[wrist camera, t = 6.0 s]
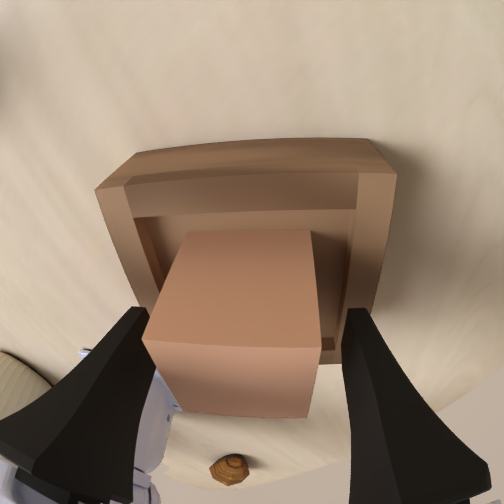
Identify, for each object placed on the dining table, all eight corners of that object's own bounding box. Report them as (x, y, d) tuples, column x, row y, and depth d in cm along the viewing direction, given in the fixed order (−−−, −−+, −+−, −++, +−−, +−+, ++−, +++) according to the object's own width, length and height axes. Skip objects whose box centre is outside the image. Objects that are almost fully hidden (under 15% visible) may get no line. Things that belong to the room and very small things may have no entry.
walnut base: (347, 309, 17) (356, 362, 14) (182, 309, 19) (166, 359, 16) (367, 138, 11) (397, 173, 8) (136, 152, 13) (94, 189, 10)
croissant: (214, 447, 38) (209, 477, 34) (259, 454, 38) (256, 483, 34) (207, 463, 46) (204, 486, 42) (243, 469, 47) (241, 492, 43)
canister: (2, 327, 25) (-65, 476, 8) (102, 411, 34) (65, 539, 17) (-30, 337, 30) (-79, 438, 14) (44, 403, 40) (11, 497, 23)
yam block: (304, 315, 14) (306, 418, 10) (206, 313, 14) (182, 410, 10) (310, 230, 11) (321, 347, 7) (187, 231, 11) (141, 339, 7)
